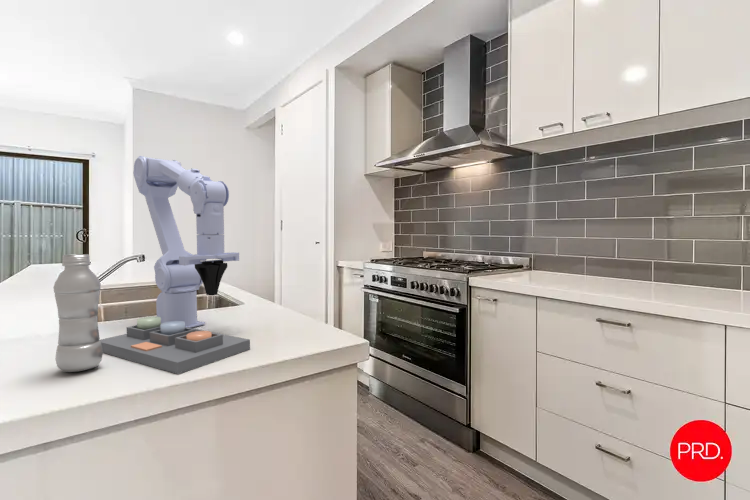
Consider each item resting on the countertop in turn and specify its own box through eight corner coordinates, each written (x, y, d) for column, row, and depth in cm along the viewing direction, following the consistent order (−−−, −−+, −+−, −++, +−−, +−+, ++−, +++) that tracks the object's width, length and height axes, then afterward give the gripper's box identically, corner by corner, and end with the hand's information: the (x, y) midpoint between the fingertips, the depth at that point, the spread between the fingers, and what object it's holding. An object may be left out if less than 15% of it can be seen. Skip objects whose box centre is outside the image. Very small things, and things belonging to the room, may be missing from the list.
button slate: (155, 334, 80) (155, 324, 80) (176, 329, 84) (175, 319, 84) (169, 337, 78) (169, 327, 78) (189, 332, 82) (189, 322, 82)
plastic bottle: (72, 364, 73) (67, 253, 72) (111, 363, 73) (107, 253, 72) (46, 377, 66) (40, 256, 65) (89, 376, 67) (84, 256, 66)
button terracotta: (181, 345, 76) (181, 334, 76) (201, 339, 80) (201, 329, 80) (196, 348, 74) (196, 338, 74) (216, 342, 78) (216, 332, 78)
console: (95, 350, 81) (95, 331, 80) (170, 332, 95) (169, 315, 94) (177, 374, 68) (177, 351, 68) (250, 349, 82) (249, 330, 82)
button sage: (132, 329, 84) (132, 319, 84) (153, 324, 88) (152, 315, 88) (145, 331, 82) (144, 322, 82) (165, 327, 86) (165, 318, 86)
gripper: (193, 235, 82) (195, 301, 83) (248, 234, 95) (248, 291, 96) (172, 235, 86) (173, 298, 87) (227, 234, 98) (228, 289, 99)
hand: (211, 294), depth 91 cm, fingers closed
